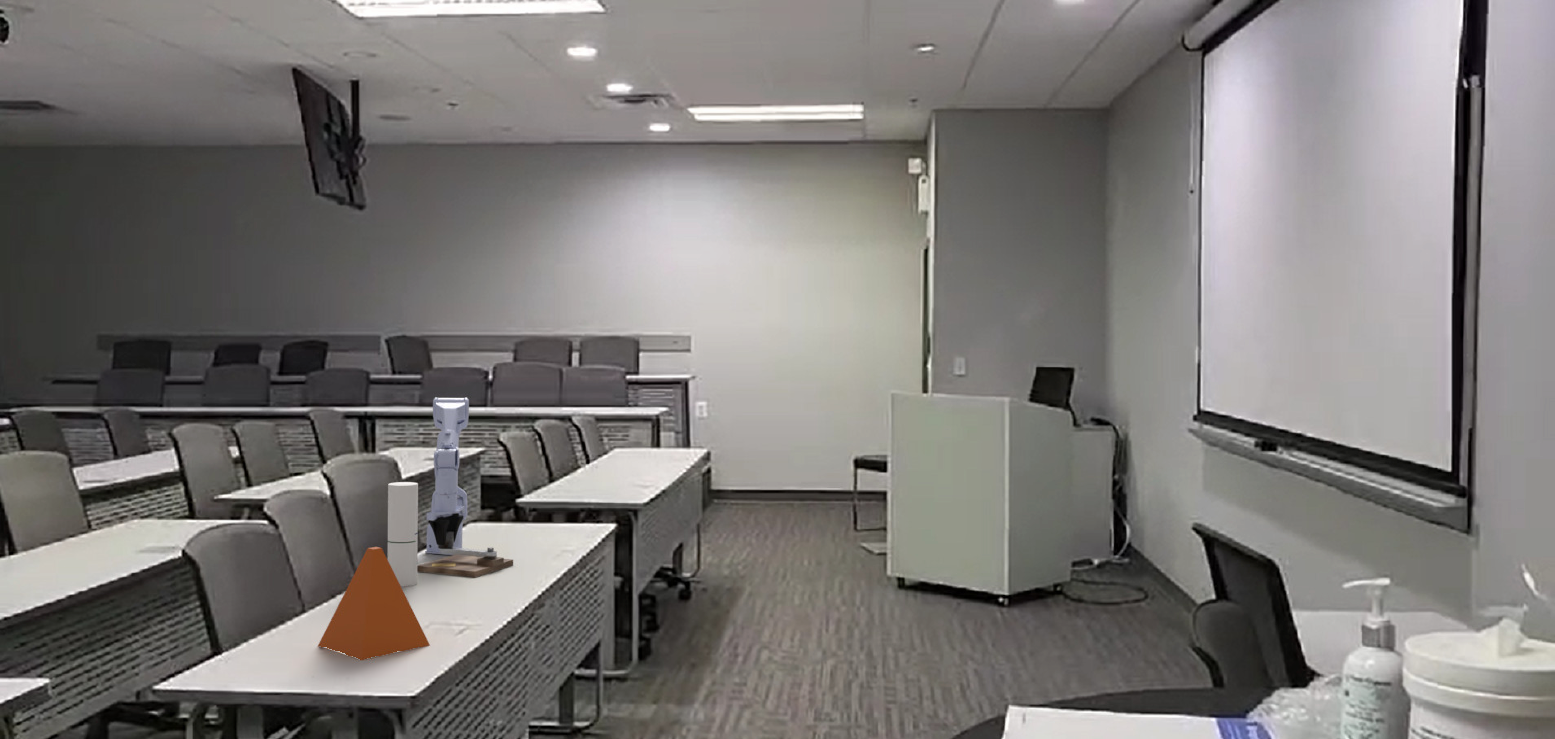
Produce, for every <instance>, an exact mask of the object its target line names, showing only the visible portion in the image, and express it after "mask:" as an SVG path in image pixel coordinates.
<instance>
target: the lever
mask: <svg viewBox="0 0 1555 739" xmlns="http://www.w3.org/2000/svg"><path fill="white" fill-rule="evenodd" d="M453 542H454V531H452V530H447V532H446V541H445V545H438V548H439V549H440V553H442V554H441V555H443V554H453V555H464V556H474V557H485V558H496V557H498V556H497V554H498V553H497V550H494V549H495V548H494V547H487V549H477V548H475V549H474V548H465V547H462V548H455V547H453ZM453 555H452V556H453Z"/></svg>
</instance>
